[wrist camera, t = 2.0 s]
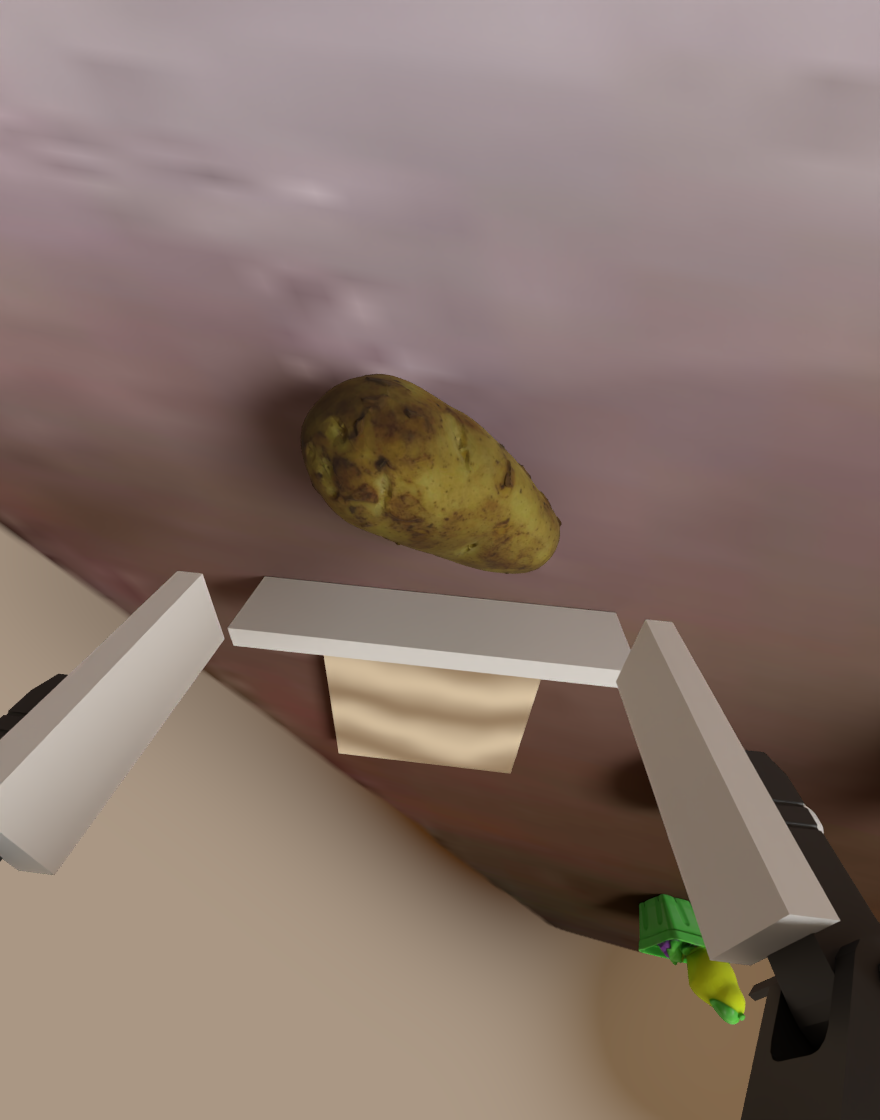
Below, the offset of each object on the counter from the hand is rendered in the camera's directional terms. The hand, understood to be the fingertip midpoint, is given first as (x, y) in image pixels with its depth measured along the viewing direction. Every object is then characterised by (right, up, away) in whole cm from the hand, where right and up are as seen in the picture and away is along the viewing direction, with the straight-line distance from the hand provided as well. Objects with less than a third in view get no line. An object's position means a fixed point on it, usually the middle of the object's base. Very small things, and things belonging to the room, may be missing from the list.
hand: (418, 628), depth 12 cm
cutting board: (0, -9, +21) cm, 23 cm away
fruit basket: (+34, -46, +44) cm, 72 cm away
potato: (+1, +7, +10) cm, 12 cm away
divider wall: (0, -1, +15) cm, 15 cm away
